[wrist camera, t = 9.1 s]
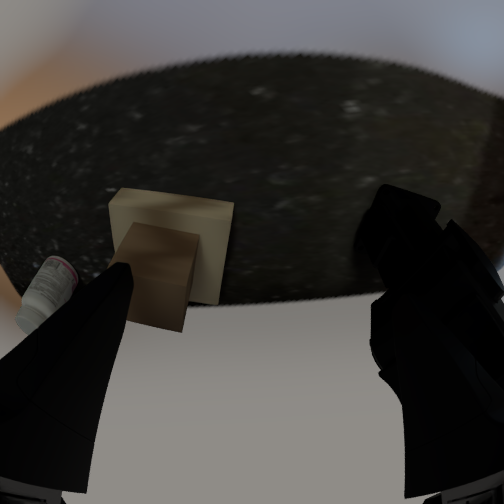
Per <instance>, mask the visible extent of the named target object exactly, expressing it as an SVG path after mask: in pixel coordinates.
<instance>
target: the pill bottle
mask: <svg viewBox="0 0 504 504" xmlns="http://www.w3.org/2000/svg"><path fill="white" fill-rule="evenodd" d="M77 284H78V275H77V272H76V271H75V269H74V268H73V267H72V265H71V264H70V263H69V262H67V261H66V260H65V259H63V258H61V257H58V256H50V257H48V258H47V259H46V261H45V262H44V264H43V265H42V267H41V268H40V270H39V271H38V273H37V275H36V276H35V278H34V279H33V281H32V282H31V284H30V286H29V287H28V289H27V290H26V292H25V294H24V295H23V297H22V306H21V307H20V310H19V311H18V313H17V315H16V317H15V320H16V322H17V324H18V326H19V327H20V328H21V329H22V330H23V331H24V332H25V333H26V334H28V335H29V334H31V333H32V332H33V331H34V330H35V329H36V328H38V326H39V325H41V324H42V323H43V322H44V321H45V320H46V319H47V318H48V317H50V316H51V315H52V314H53V313H54V312H55V311H56V310H58V309H59V308H60V307H61V306H62V305H63V304H65V303H66V302H67V301H68V300H69V299H70V297H71V295H72V293H73V291H74V289H75V288H76V286H77Z"/></svg>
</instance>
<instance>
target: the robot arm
mask: <svg viewBox="0 0 504 504" xmlns="http://www.w3.org/2000/svg"><path fill="white" fill-rule="evenodd" d="M386 189H388V191H387V192H385V193H384V191H385V190H386ZM435 206H436V207H435ZM434 207H435V208H434ZM440 209H441V205H440V203H439V202H438V201H436V200H433V199H431V198H428V197H425V196H422V195H419V194H416V193H413V192H410V191H407V190H404V189H401V188H398V187H395V186H392V185H388V184H384V185H382V186H381V187H380V189H379V191H378V193H377V196H376V198H375V200H374V203H373V205H372V207H371V208H370V209H369V211H368V213H367V216H366V218H365V220H364V222H363V224H362V227H361V229H360V231H359V236H358V238H357V240H356V242H355V244H354V248H355V250H356V251H357V252H359V253H365V254H368V255H369V257H370V259H371V262H372V264H373V266H374V268H378V271H379V273H380V275H381V278H382V280H383V282H384V285H385V287H386V288H389V289H388V290H387V291H386V292H385V293H384V294H383V295H382V296H381V297H380V298H379V299H378V300H375V301H374V302H373V303H372V304H371V339H370V347H371V352H372V356H373V358H374V360H375V362H376V364H377V365H378V367H379V368H380V369H381V371H379V373H378V374H379V376H380V377H381V378H382V379H383V380H384V381H385V382H386V383H387V384H388V385H389V386H390V387H391V388H392V389H393V391H394V392H395V394H396V395H397V397H398V398H399V400H400V402H401V404H402V411H403V423H404V441H405V491H404V497H405V499H407V498H413V497H418V496H423V495H428V494H433V493H437V492H440V493H438V494H436V495H434V496H432V497H429V498H427V499H425V501H424V503H423V504H504V303H503V302H502V300H501V298H502V297H503V296H504V286H503V284H502V281H501V279H500V277H499V275H498V273H497V271H496V269H495V267H494V265H493V264H492V262H491V261H490V260H489V258H488V257H487V256H486V254H485V253H484V252H483V250H482V249H481V248H480V247H479V245H478V244H477V243H476V242H475V241H474V240H473V239H472V238H471V237H470V236H469V235H468V234H467V233H466V232H465V231H464V230H463V229H462V228H461V227H460V226H459V225H457V224H456V223H455V222H454V221H453V220H452V219H451V220H450V221H449V222H448V224H447V227H446V228H445V229H444V231H443V230H442V228H441V227H440V226H439V224H438V223H437V222H436V221H435V218H436V216H437V215H438V213H439V211H440ZM359 246H361V247H359ZM133 289H134V280H133V275H132V270H131V266H130V264H129V263H126V262H119V261H118V262H116V263H114V264H113V265H112V266H110V267H109V268H108V269H106V270H105V271H104V272H103V273H101V274H100V275H99V276H97V277H96V278H95V279H94V280H92V281H91V282H90V283H89V284H87V285H86V286H85V287H84V288H83V289H81V290H80V291H79V292H78V293H76V294H75V295H74V296H73V297H72V298H70V299H69V300H68V301H67V302H66V303H65V304H63V305H62V306H61V307H60V308H59V309H58V310H56V311H55V312H54V313H53V314H52V315H51V316H50V317H48V318H47V319H46V320H45V321H44V322H43V323H42V324H41V325H39V326H38V328H36V329H35V330H34V331H33V332H32V333H31V334H29V335H28V336H27V337H26V338H25V339H24V340H23V341H22V342H21V343H19V344H18V345H17V346H16V347H15V348H14V349H12V350H11V351H10V352H9V353H8V354H6V355H5V356H4V357H3V358H1V359H0V504H66V503H65V501H64V500H63V498H62V497H61V495H62V491H68V492H76V493H85V494H86V492H87V486H88V479H89V472H90V466H91V459H92V454H93V449H94V442H95V438H96V433H97V428H98V424H99V419H100V414H101V410H102V406H103V402H104V398H105V394H106V390H107V387H108V383H109V379H110V375H111V372H112V368H113V365H114V361H115V358H116V355H117V352H118V348H119V345H120V342H121V339H122V336H123V332H124V329H125V324H126V320H127V315H128V310H129V306H130V302H131V297H132V293H133Z"/></svg>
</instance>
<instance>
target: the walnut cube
mask: <svg viewBox="0 0 504 504" xmlns="http://www.w3.org/2000/svg"><path fill="white" fill-rule="evenodd" d="M199 236H200V235H199V234H194V233H189V232H184V231H179V230H174V229H168V228H163V227H158V226H153V225H148V224H143V223H138V222H133V223H132V225H131V227H130V228H129V230H128V232H127V233H126V235H125V237H124V239H123V240H122V242H121V244H120V246H119V247H118V249H117V251H116V253H115V255H114V256H113V258H112V260H111V262H110V264H109V266H108V268H109V267H110V266H112V265H113V264H114V263H116V262H118V261H119V262H126V263H129V264H130V266H131V270H132V275H133V280H134V289H133V293H132V297H131V302H130V306H129V310H128V315H127V320H128V321H131V322H136V323H140V324H144V325H148V326H152V327H157V328H161V329H166V330H171V331H175V332H181V333H182V330H183V325H184V320H185V315H186V311H187V306H188V301H189V297H190V292H191V288H192V284H193V277H194V269H195V262H196V255H197V249H198V242H199ZM108 268H107V269H108Z"/></svg>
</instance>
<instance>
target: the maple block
mask: <svg viewBox="0 0 504 504" xmlns="http://www.w3.org/2000/svg"><path fill="white" fill-rule="evenodd" d="M233 207H234V203H232V202H226V201H219V200H213V199H206V198H199V197H192V196H185V195H177V194H170V193H162V192H154V191H145V190H137V189H128V188H121V189H120V190H119V192H118V193H117V194H116V195H115V196H114V198H113V199H112V200H111V201H110V203H109V213H110V221H111V228H112V235H113V242H114V248H115V253H116V251H117V249H118V247H119V246H120V244H121V242H122V240H123V239H124V237H125V235H126V233H127V232H128V230H129V228H130V227H131V225H132V223H133V222H138V223H143V224H148V225H153V226H158V227H163V228H168V229H174V230H179V231H184V232H189V233H194V234H199V235H200V236H199V242H198V249H197V255H196V262H195V269H194V277H193V284H192V288H191V292H190V297H189V301H193V302H199V303H206V304H212V305H218V301H219V295H220V288H221V282H222V275H223V269H224V263H225V257H226V251H227V245H228V239H229V233H230V227H231V221H232V214H233Z"/></svg>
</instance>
